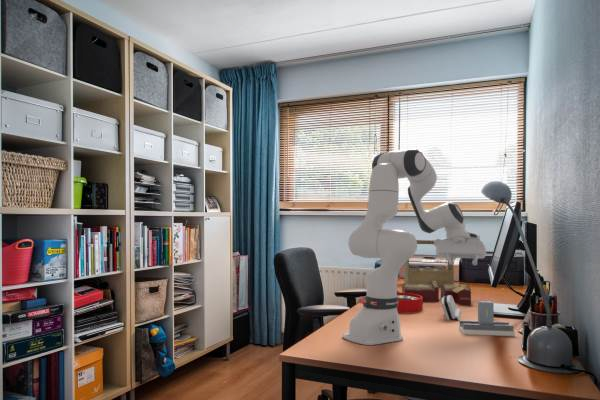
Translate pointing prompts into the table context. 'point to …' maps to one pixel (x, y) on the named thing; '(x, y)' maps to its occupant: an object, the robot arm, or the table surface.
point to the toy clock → (409, 302)
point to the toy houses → (432, 292)
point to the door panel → (485, 312)
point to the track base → (486, 328)
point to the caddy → (428, 273)
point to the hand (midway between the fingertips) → (463, 264)
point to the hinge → (450, 308)
